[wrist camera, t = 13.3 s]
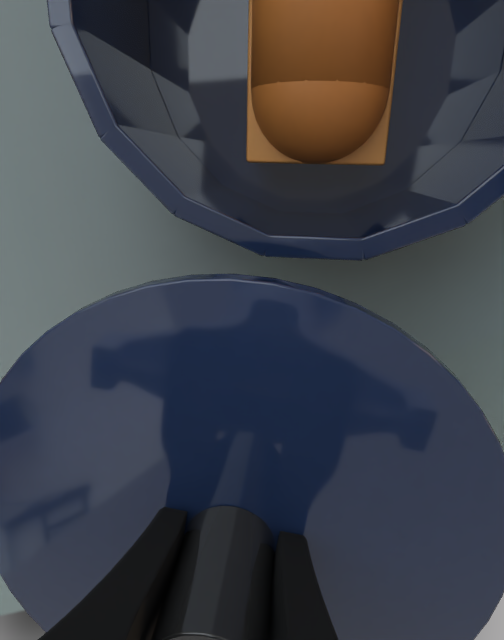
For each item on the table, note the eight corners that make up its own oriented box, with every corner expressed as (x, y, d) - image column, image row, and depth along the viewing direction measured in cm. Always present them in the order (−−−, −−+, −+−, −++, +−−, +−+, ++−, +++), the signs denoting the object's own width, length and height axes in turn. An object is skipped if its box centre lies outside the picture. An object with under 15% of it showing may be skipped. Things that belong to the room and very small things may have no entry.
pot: (568, -229, 13) (795, -562, 7) (483, 232, 18) (579, 270, 11) (124, -206, 14) (-6, -475, 8) (147, 220, 19) (72, 249, 13)
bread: (262, -126, 14) (242, -266, 10) (399, -131, 14) (449, -278, 9) (255, 162, 17) (237, 162, 12) (370, 164, 17) (396, 166, 12)
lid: (557, 279, 10) (741, 366, 6) (453, 709, 15) (513, 930, 11) (-47, 256, 11) (-252, 311, 7) (33, 656, 16) (-63, 833, 12)
